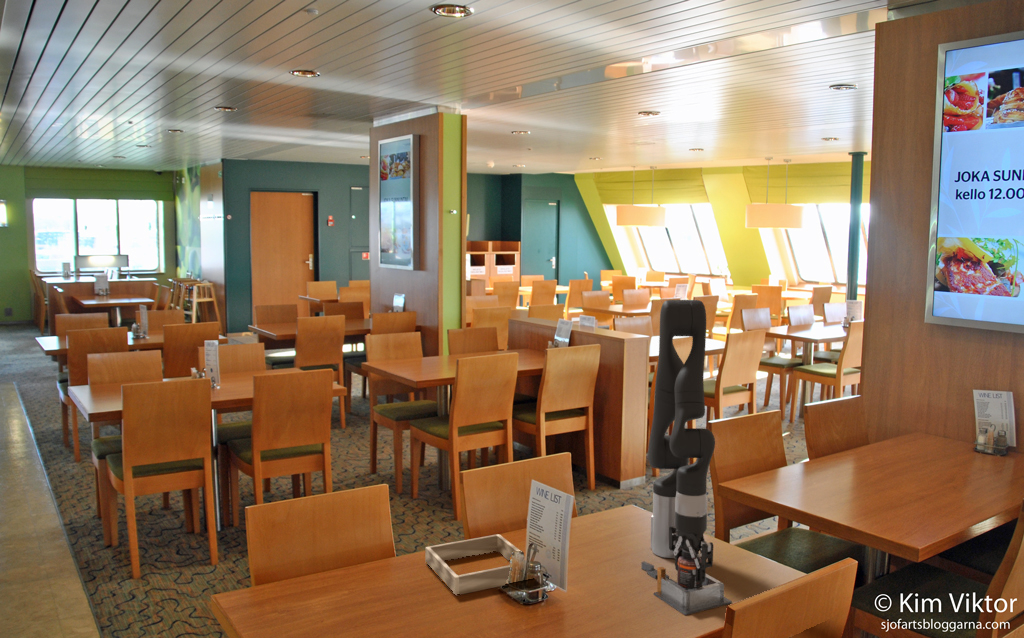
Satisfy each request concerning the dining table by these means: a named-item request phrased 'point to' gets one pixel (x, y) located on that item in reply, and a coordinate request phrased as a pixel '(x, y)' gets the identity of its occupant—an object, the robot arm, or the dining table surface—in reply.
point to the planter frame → (468, 548)
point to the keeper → (690, 594)
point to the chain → (652, 570)
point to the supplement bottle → (687, 571)
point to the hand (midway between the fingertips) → (689, 575)
